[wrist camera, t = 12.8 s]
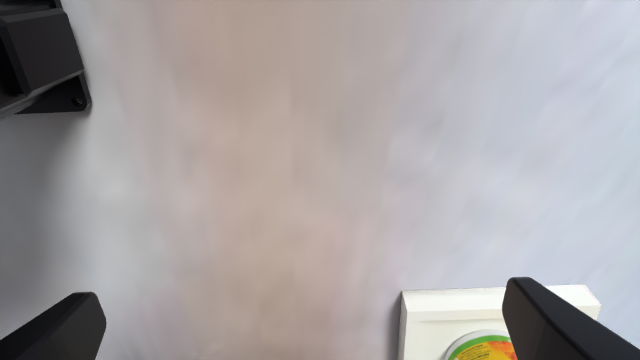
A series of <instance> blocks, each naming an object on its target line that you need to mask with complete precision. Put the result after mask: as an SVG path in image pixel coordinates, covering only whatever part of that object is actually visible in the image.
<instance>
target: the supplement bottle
mask: <svg viewBox="0 0 640 360" xmlns="http://www.w3.org/2000/svg"><path fill="white" fill-rule="evenodd" d="M445 360H517V357H516V354H515V351H514V348H513V345H512V342H511V339H510V336H509V333H507V332H504V331H499V330H480V331H476V332H473V333H470V334H467V335H465V336H463V337H462V338H460V339H459V340H457V341H456V342H455V343H454V344H453V345H452V346H451V347H450V349H449V350H448V352H447V354H446V358H445Z"/></svg>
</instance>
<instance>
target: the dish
mask: <svg viewBox="0 0 640 360" xmlns="http://www.w3.org/2000/svg"><path fill="white" fill-rule="evenodd" d="M544 287H546V288H547V289H549V290H550V291H552V292H553V293H555V294H556V295H558V296H559V297H561V298H562V299H564V300H565V301H567V302H569V303H570V304H572V305H573V306H575V307H576V308H578V309H579V310H581V311H582V312H584V313H585V314H587V315H588V316H590V317H591V318H593V319H594V320H596V319H597V316H598V314H599V311H600V308H601V306H602V305H601V304H600V303H599V301H598V300H597V299H596V298H595V297H594V296H593V294H592V293H591V292H590V291H589V290H588V288H587V287H586V286H585V285H584V284H580V285H552V286H544ZM505 290H506V287H496V288H468V289H439V290H411V291H402V298H401V313H400V328H399V344H398V359H397V360H445V358H446V354H447V352H448V350H449V349H450V347H451V346H452V345H453V344H454V343H455V342H456V341H457V340H459V339H460V338H462V337H463V336H465V335H467V334H470V333H473V332H476V331H480V330H499V331H504V332H507V333H508V330H507V327H506V324H505V321H504V318H503V314H502V303H503V299H504V294H505Z"/></svg>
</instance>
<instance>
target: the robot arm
mask: <svg viewBox="0 0 640 360" xmlns="http://www.w3.org/2000/svg"><path fill="white" fill-rule="evenodd" d="M83 69H84V67H83V64H82V61H81V57H80V54H79V51H78V48H77V45H76V41H75V38H74V35H73V32H72V29H71V26H70V22H69V19H68V16H67V14H66V13H65V12H64V11H63V9H62V6H61V2H60V0H0V120H2V119H4V118H6V117H9V116H11V115H13V114H32V113H54V112H77V111H83V110H85V109H87V108H88V107H89V106H90V105H91V97H90V94H89V91H88V88H87V84H86V81H85V78H84V75H83V72H82V71H83ZM76 96H77V97H79V98H80V99H81V100H82V104H80V103H78V102H77V100H76ZM502 314H503V318H504V321H505V324H506V327H507V330H508V333H509V336H510V339H511V342H512V345H513V348H514V351H515V354H516V357H517V360H640V349H638V348H637V347H635V346H634V345H632V344H631V343H629V342H628V341H626V340H625V339H623V338H622V337H620V336H619V335H617V334H616V333H614V332H612V331H611V330H609V329H608V328H606V327H605V326H603V325H602V324H600V323H599V322H597V321H596V320H594V319H593V318H591V317H590V316H588V315H587V314H585V313H584V312H582V311H581V310H579V309H578V308H576V307H575V306H573V305H572V304H570V303H569V302H567V301H565V300H564V299H562V298H561V297H559V296H558V295H556V294H555V293H553V292H552V291H550V290H549V289H547V288H546V287H544V286H543V285H541V284H540V283H538V282H537V281H535V280H534V279H532V278H530V277H512V278H510V279H509V280H508V282H507V286H506V290H505V294H504V299H503V303H502ZM105 329H106V317H105V315H104V312H103V310H102V307H101V305H100V302H99V300H98V297H97V295H96V294H95V293H93V292H76V293H72V294H71V295H69V296H67V297H66V298H64V299H63V300H61V301H60V302H58V303H57V304H55V305H54V306H52V307H51V308H49V309H48V310H46V311H45V312H43V313H41V314H40V315H38V316H37V317H35V318H34V319H32V320H31V321H29V322H28V323H26V324H25V325H23V326H22V327H20V328H18V329H17V330H15V331H14V332H12V333H11V334H9V335H8V336H6V337H5V338H3V339H2V340H0V360H95V358H96V356H97V353H98V350H99V347H100V344H101V341H102V338H103V335H104V332H105Z"/></svg>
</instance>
